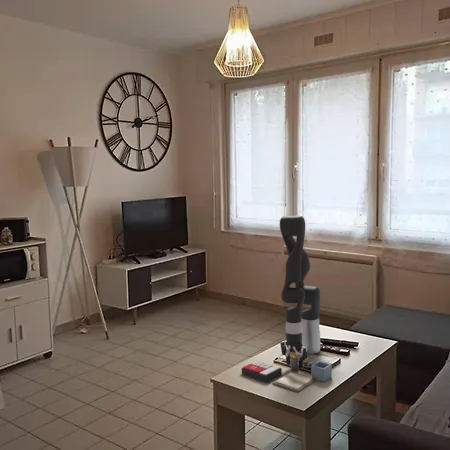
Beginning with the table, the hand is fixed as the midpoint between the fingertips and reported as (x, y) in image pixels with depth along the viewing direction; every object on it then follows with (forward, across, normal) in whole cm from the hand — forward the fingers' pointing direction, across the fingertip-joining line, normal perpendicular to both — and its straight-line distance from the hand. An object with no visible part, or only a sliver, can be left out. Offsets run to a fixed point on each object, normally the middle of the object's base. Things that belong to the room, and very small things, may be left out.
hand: (294, 366), depth 229 cm
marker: (+2, 0, 0) cm, 2 cm away
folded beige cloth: (+2, -7, +11) cm, 13 cm away
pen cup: (+2, -14, 0) cm, 14 cm away
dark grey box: (+3, +10, +12) cm, 16 cm away
